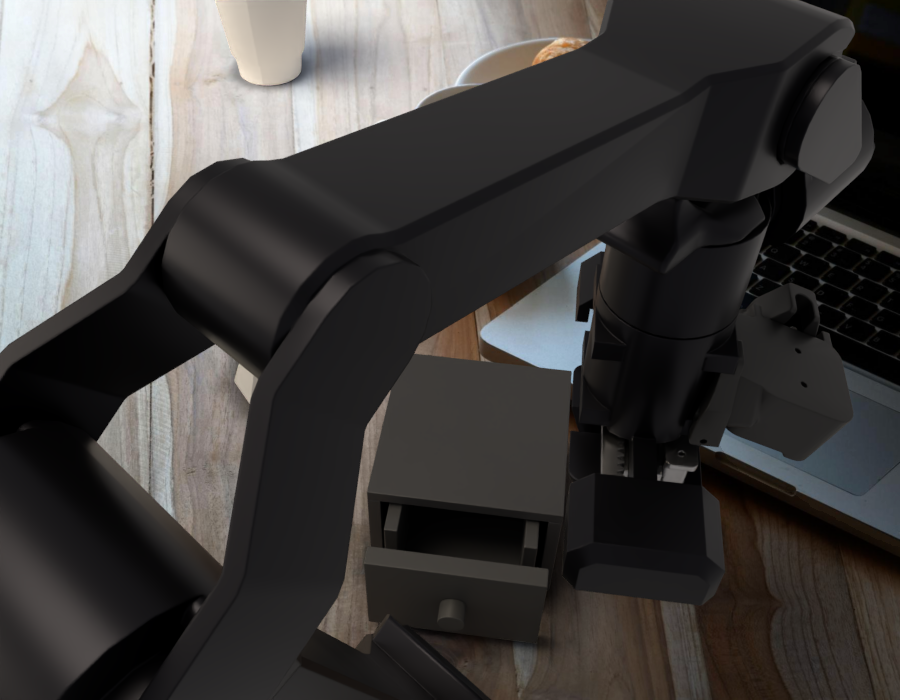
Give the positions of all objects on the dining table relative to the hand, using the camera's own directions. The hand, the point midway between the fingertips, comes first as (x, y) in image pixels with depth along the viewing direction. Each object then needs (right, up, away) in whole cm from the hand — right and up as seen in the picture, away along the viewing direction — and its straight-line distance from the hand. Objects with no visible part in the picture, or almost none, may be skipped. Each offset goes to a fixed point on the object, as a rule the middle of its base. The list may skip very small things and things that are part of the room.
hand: (612, 508), depth 49 cm
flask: (-22, +6, +24) cm, 33 cm away
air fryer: (-7, -2, +15) cm, 17 cm away
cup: (-29, +40, +56) cm, 74 cm away
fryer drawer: (-8, -6, +11) cm, 15 cm away
